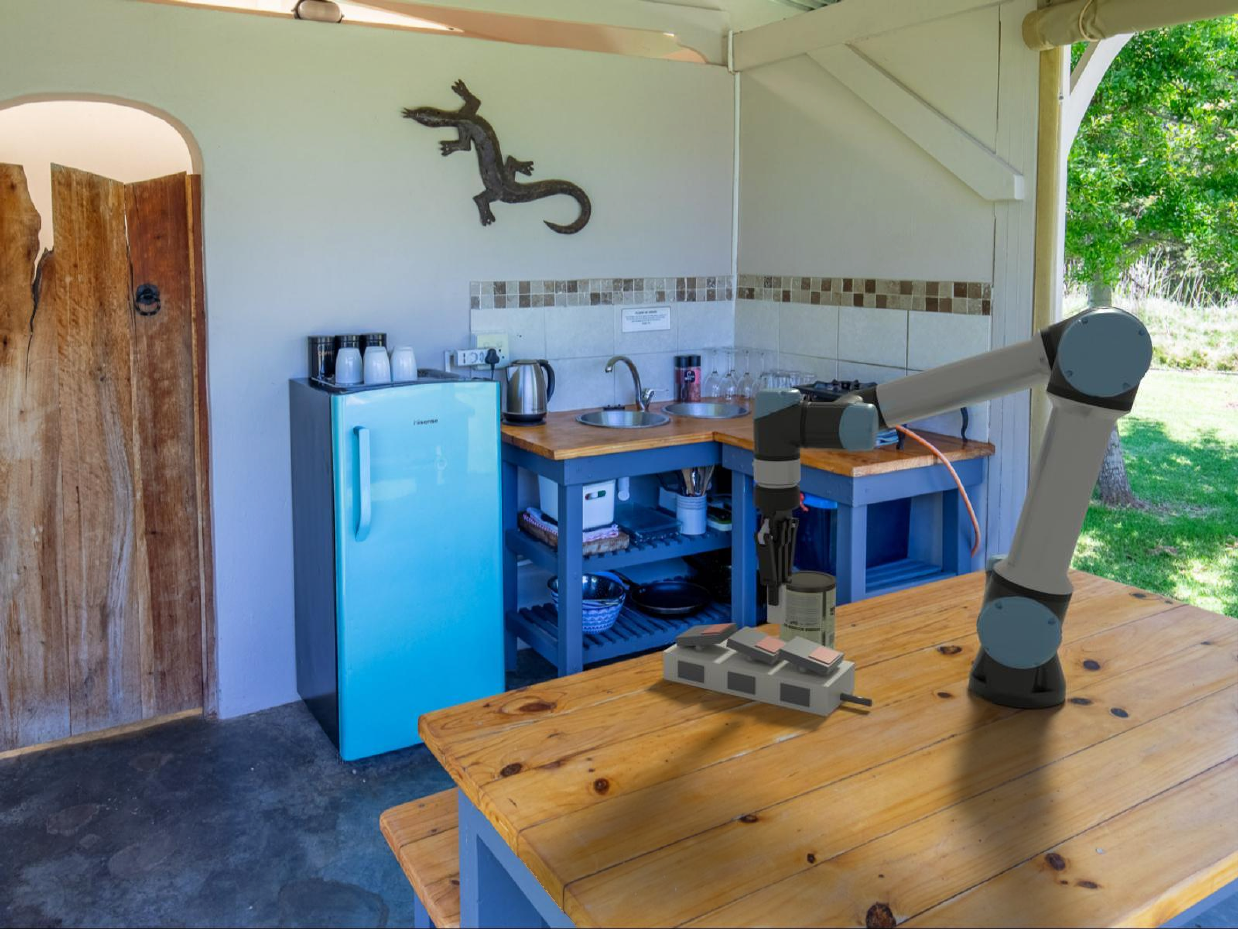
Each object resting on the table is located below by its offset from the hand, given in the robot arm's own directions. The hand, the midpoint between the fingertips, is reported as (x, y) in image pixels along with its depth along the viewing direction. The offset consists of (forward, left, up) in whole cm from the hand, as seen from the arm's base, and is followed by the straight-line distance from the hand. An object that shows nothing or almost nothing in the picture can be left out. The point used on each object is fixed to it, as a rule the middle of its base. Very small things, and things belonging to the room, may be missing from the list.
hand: (776, 622), depth 176 cm
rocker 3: (-6, 0, -5) cm, 8 cm away
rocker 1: (+13, 0, -5) cm, 14 cm away
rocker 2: (+3, 0, -5) cm, 6 cm away
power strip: (+1, 0, -12) cm, 12 cm away
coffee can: (+2, -19, -12) cm, 23 cm away
